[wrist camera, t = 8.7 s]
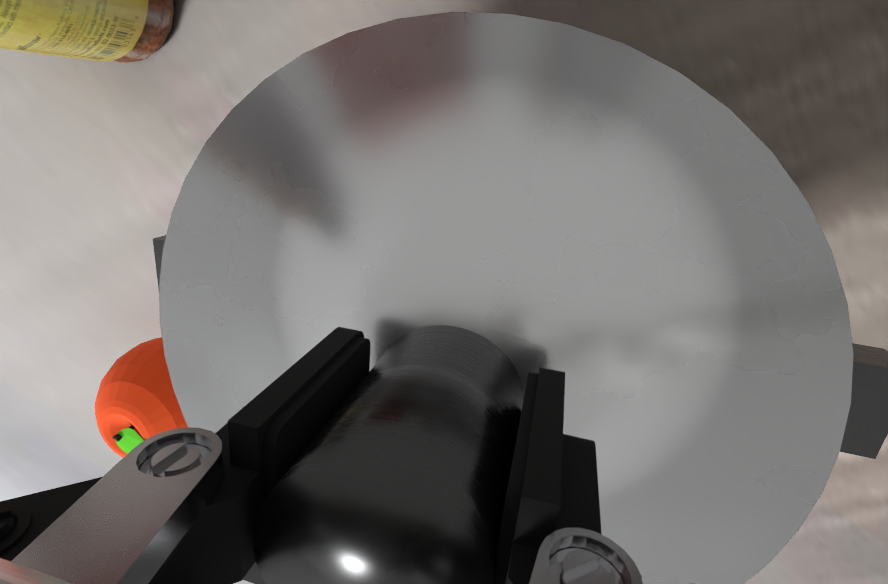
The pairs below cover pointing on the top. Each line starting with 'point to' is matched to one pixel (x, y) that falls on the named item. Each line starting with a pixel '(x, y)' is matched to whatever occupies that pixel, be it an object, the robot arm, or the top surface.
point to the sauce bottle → (86, 27)
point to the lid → (510, 300)
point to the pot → (872, 397)
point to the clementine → (137, 399)
